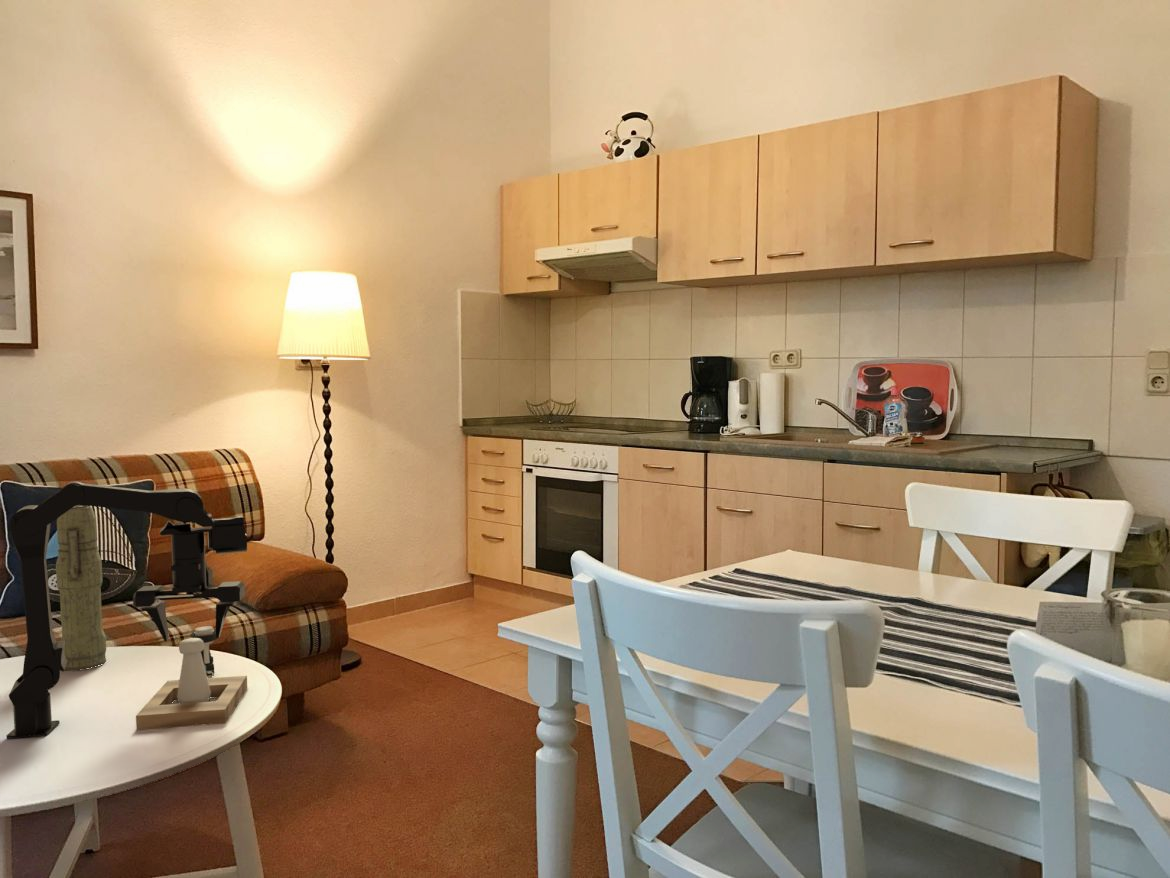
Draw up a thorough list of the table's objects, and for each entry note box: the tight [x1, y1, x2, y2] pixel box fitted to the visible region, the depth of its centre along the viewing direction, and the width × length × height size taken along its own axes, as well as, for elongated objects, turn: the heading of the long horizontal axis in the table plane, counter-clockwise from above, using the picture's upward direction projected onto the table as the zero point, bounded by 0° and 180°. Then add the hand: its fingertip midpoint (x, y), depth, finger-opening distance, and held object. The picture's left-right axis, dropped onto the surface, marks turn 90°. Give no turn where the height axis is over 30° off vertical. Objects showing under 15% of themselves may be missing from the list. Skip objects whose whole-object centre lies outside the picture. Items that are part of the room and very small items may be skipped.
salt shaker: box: [177, 637, 211, 704], centre depth 177 cm, size 6×6×13 cm
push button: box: [189, 625, 218, 678], centre depth 196 cm, size 7×5×10 cm
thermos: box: [55, 505, 107, 671], centre depth 206 cm, size 9×12×35 cm
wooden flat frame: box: [135, 675, 248, 731], centre depth 177 cm, size 20×15×2 cm
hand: (192, 639), depth 177 cm, fingers open, 9 cm apart
